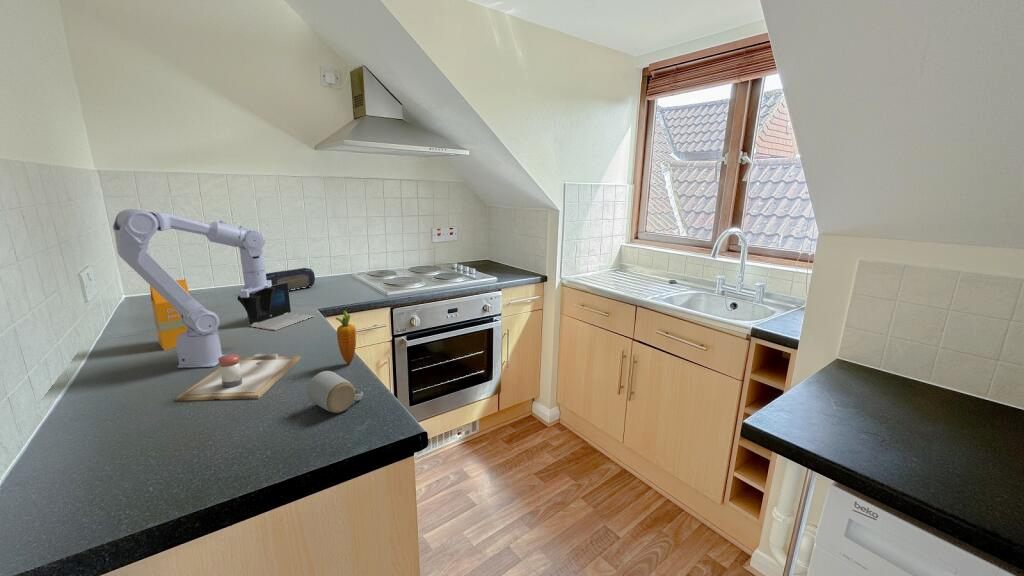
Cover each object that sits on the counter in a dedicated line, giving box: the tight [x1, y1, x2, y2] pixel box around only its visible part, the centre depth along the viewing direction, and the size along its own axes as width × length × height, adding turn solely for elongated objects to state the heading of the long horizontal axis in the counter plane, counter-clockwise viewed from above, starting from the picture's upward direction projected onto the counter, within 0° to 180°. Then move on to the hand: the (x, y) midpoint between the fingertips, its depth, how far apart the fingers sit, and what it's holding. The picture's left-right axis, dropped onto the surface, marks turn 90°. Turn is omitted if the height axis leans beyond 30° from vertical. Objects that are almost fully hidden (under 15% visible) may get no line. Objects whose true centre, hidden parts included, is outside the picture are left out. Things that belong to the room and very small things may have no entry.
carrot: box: [335, 311, 357, 365], centre depth 116 cm, size 5×5×15 cm
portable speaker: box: [266, 267, 316, 290], centre depth 203 cm, size 25×10×10 cm, turn 144°
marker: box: [218, 353, 242, 388], centre depth 103 cm, size 4×4×7 cm
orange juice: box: [149, 279, 191, 351], centre depth 131 cm, size 8×9×20 cm
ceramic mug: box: [306, 370, 364, 414], centre depth 95 cm, size 11×8×8 cm
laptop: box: [246, 282, 316, 331], centre depth 154 cm, size 18×12×13 cm
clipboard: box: [176, 353, 302, 402], centre depth 109 cm, size 18×24×2 cm
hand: (260, 314), depth 128 cm, fingers open, 7 cm apart
